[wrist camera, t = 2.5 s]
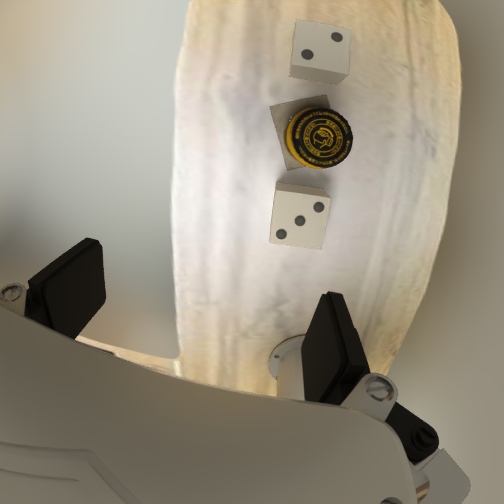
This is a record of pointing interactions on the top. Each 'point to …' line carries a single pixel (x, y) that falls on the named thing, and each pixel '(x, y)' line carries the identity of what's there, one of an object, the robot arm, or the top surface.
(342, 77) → the two dot block
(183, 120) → the top surface
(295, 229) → the three dot block
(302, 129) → the condiment
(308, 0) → the top surface
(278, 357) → the robot arm
